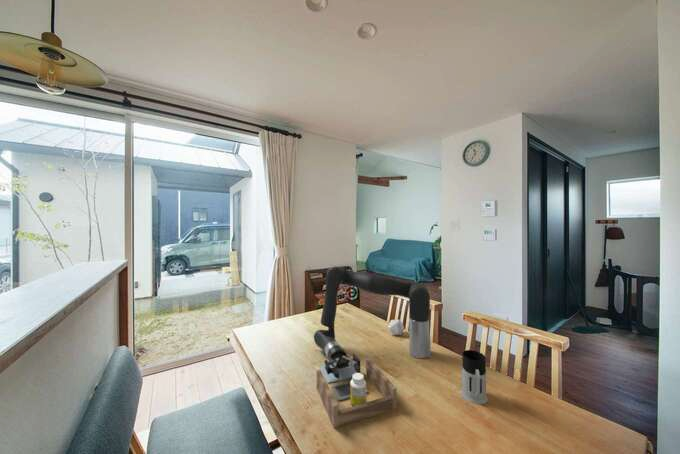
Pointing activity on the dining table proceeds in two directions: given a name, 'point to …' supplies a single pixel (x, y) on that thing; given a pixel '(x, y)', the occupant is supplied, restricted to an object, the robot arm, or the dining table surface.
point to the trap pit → (343, 391)
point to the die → (396, 327)
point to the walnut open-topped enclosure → (359, 410)
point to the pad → (343, 374)
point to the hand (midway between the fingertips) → (348, 373)
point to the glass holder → (474, 377)
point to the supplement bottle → (358, 389)
